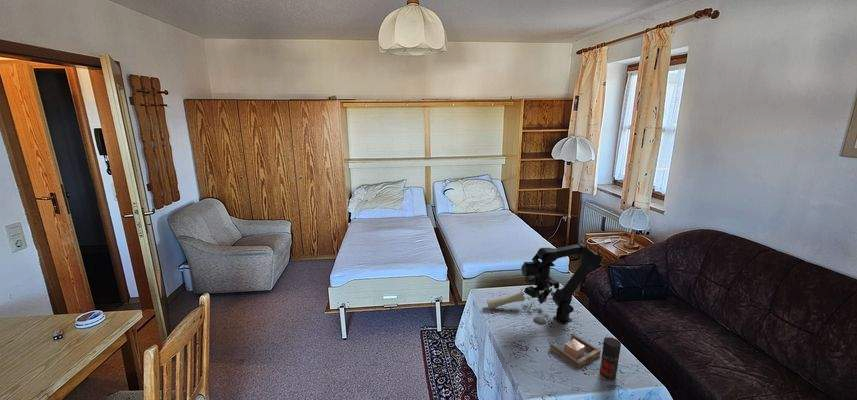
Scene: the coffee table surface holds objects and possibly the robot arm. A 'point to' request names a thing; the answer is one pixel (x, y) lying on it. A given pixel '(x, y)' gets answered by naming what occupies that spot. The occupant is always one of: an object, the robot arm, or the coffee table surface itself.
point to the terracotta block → (574, 348)
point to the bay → (582, 361)
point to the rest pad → (539, 320)
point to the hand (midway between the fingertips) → (540, 303)
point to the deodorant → (610, 358)
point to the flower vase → (511, 300)
